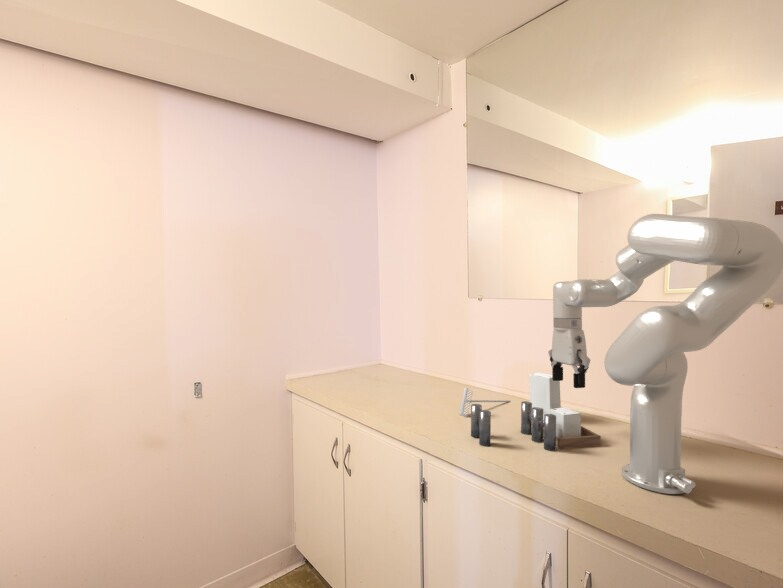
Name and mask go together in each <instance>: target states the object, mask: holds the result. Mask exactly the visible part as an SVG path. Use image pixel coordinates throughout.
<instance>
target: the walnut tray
mask: <svg viewBox="0 0 783 588" xmlns="http://www.w3.org/2000/svg"><path fill="white" fill-rule="evenodd" d="M601 437H602V436H601V434H597V433H596V432H595V431H592V430H590V429H588V428H586V427H585V426H582V425H581V436H578V437H564V438H560V437H558V436H557V435H556V448H558V449H571V448H584V447H587V448H588V447H597V446H600V447H601V442H602V439H601ZM543 439H544V422H543Z"/></svg>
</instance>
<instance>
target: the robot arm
mask: <svg viewBox="0 0 783 588" xmlns="http://www.w3.org/2000/svg"><path fill="white" fill-rule="evenodd" d="M626 239H627V243H628V244H627V245H626V246H625V247H623V248H622V249H620V250H619V251H618V252H617V253H616V255H615V263H616V266H617V268H618V272H616V273H614V274H613V275H611V276H610V277H608V278H607V279H597V278H596V279H595V278H594V279H588V278H586V279H575V280H571V281H569V280H567V281H558V282H555V283H554V284H553V286H552V310H553V312H552V313H553V317H552V318H553V321H552V322H553V331H552V342H551V349H550V350H548V356H549V361H550V363H551V364H550V365H551V367H552V371H551V372H552V373H551V374H552V380H553V381H560V382H562V381H563V380H564V367H563V364H564V365H567V366H571V367H572V368H573V371H574V373H572V374H573V377H572V378H573V388H574V389H583V388H586V374H587V372H588V371H587V370H589V369H590V368H589V366H590V364H591V358H590V357H589V356H588V355H587V354H588V351H587V342H586V341H587V340H586V336H585V331H584V329H583V308H608V307H613V306H615V305H617V304H620V303H621V302H623V301H624V300H626V299H628V298H630V297H632V296H633V295H634V294H636V293H637V292H638V291H639V289H640V288H641V287H642V285H643V283H644V280H645V279H646V278H648V277H650V276H652V275H653V274H655V273H656V272H658V271H659V270H662V269H663V268H664V267H666V266H668V265H670V264H671V263H673V262H676V261H677V262H681V263H682V262H683V263H687V264H688V263H689V264H694V265H703V266H718V267H719V266H722V267H721V268H720V269H719V270H718V271H717V272H715V273H714V274H712V275H711V276H709V277H708V278H707V279H705V280H704V281H702V282H701V283H700V284H698V285H697V287H696V288H695V289H694V291H692V293H690V294H689V295H688V296H687V297H686V298H685V299H684V300H683V301H681V302H680V303H678V304H675V305H657V306H653V307H650V308H647V309H645V310H644V311H642V312H641V313H639V314H638V315H636V317H634V318H633V320H632V321H631V322H630V323H629V324H628V325H627V327H625V329H624V330H623V331H622V332H621V333H620V334H619V336H618V337H617V338H616V339H615V340H614V341H613V342H612V344H611V345H610V346H609V347H608V349H607V351H606V353H605V357H604V370H605V371H606V374H607V375H608V377H609V378H610V379H611V380H612V381H614V382H615V383H617V384H619V385H623V386H628V387H629V386H630V387H633V388H632V392H631V396H630V407H629V410H630V415H629V416H630V417H629V420H630V421H629V422H630V423H629V425H630V426H629V463H626V464H624V465H623V466H622V467H621V474H622V476H623V478H625V480H627V481H628V482H629V483H631V484H632V485H633V484H634V485H635V486H637V487H640V488H643V489H644V490H648V491H651V492H655V493H660V494H668V495H680V494H690V493H691V492H692V490H693V489H694V488H695V487H696V482H695V481H694V480H691V479H690V478H687V477H686V469H685V468H683V467H681V466H682V465H681V464H682V463H681V462H682V461H681V460H682V458H681V457H682V448H681V447H682V416H683V415H682V411H683V395H684V394H683V392H684V387H685V383H686V379H687V374H688V366H689V365H688V358H687V356H686V354H685V353H690V352H696V351H697V352H698V351H701V350H704V349H706V348H707V347H708V346H709V345H711V344H712V343H714V341H715V340H716V339H717V338H719V337H720V336H721V335H722V334H723V333H724V332H725V331H726V330H728V329H729V328H730V327H731V325H733V324H734V323H736V322H737V320H738V319H740V317H741V316H742V315H743V314H744V313H746V312H747V311H748V310H749V309H750V308H752V306H754V304H755V303H756V302H758V301H759V300H760V299H761V298H763V297H764V296H765V295H766V294H767V293H768V292H770V290H771V289H772V288H773V287H774V286H775V284H776V283H777V281H779V279H780V277H781V275H782V273H783V241H782V239H781V238H780V237H779V236H778V234H777V233H776V232H775V231H773V230H772V229H771V228H769V226H768V227H767V226H766V225H765V224H764V225H763V224H760V223H757V222H753V221H747V220H738V219H737V220H736V219H727V218H716V217H704V216H701V217H700V216H686V215H685V216H683V215H674V214H673V215H672V214H663V213H649V214H646V215H643V216H641V217H639V218H638V219H637V220H635V221H634V222H633V224H631V226H630V227H629V229H628V232H627V238H626Z"/></svg>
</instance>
